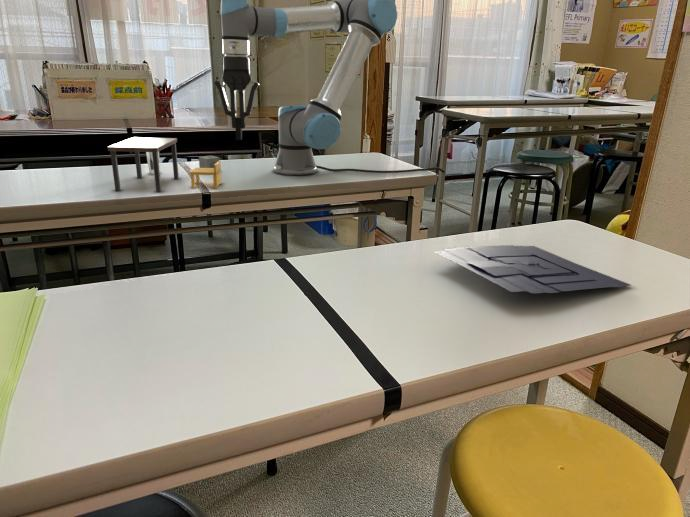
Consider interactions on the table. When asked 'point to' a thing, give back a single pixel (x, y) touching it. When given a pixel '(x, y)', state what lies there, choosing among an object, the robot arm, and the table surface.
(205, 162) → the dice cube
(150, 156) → the milkshake
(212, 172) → the chair
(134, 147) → the little table
